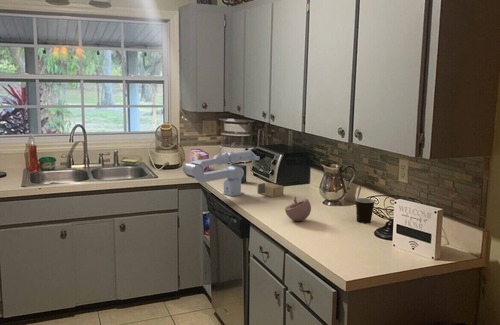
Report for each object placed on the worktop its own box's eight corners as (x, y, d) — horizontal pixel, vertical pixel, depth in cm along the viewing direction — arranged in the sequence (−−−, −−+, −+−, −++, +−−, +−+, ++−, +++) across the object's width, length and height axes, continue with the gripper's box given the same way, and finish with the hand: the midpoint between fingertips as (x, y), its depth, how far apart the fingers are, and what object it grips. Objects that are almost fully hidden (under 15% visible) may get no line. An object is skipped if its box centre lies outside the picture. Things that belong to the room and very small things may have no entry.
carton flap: (273, 196, 271) (273, 184, 270) (267, 198, 268) (267, 186, 267) (258, 192, 280) (258, 181, 279) (251, 194, 276) (251, 182, 275)
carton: (273, 197, 272) (273, 188, 271) (258, 193, 280) (258, 184, 279) (283, 194, 277) (283, 186, 276) (268, 191, 286) (268, 182, 285)
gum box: (210, 173, 332) (210, 153, 329) (198, 174, 329) (198, 154, 326) (200, 167, 354) (199, 148, 351) (189, 167, 351) (189, 149, 348)
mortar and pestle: (286, 216, 237) (286, 192, 234) (311, 217, 235) (312, 194, 232) (283, 223, 225) (284, 199, 223) (309, 225, 223) (310, 200, 221)
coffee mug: (369, 225, 224) (370, 203, 222) (351, 221, 229) (352, 200, 227) (378, 219, 234) (379, 198, 232) (361, 216, 238) (362, 195, 237)
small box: (226, 181, 308) (227, 165, 306) (232, 179, 314) (232, 163, 312) (241, 183, 303) (241, 167, 302) (246, 181, 309) (247, 165, 307)
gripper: (251, 152, 272) (270, 150, 280) (235, 146, 282) (253, 144, 291) (250, 164, 274) (268, 162, 282) (234, 157, 284) (252, 155, 293)
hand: (260, 154), depth 287 cm, fingers open, 7 cm apart
